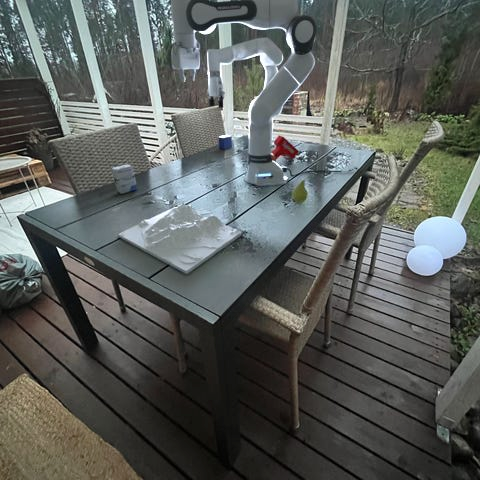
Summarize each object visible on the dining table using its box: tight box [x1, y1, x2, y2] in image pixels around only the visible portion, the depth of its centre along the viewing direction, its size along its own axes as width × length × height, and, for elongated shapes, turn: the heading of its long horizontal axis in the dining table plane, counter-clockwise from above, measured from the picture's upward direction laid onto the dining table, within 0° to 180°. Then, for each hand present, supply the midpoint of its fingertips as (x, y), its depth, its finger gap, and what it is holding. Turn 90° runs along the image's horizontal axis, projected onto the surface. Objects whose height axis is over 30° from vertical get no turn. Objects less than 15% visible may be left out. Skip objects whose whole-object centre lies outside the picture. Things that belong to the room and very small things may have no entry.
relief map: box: [117, 202, 243, 275], centre depth 96 cm, size 27×35×5 cm
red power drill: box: [270, 134, 300, 163], centre depth 174 cm, size 18×4×15 cm
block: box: [218, 134, 233, 150], centre depth 201 cm, size 5×8×8 cm, turn 139°
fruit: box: [291, 174, 311, 204], centre depth 118 cm, size 7×8×12 cm
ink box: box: [110, 164, 138, 195], centre depth 131 cm, size 8×5×12 cm, turn 135°
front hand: (187, 81), depth 121 cm, fingers open, 8 cm apart
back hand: (216, 106), depth 169 cm, fingers open, 9 cm apart
